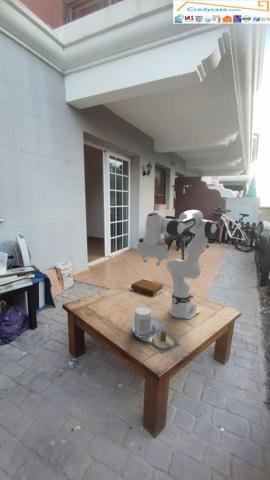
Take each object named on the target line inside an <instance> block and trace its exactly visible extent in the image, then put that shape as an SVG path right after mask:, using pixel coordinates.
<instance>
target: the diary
mask: <svg viewBox="0 0 270 480" xmlns="http://www.w3.org/2000/svg"><path fill="white" fill-rule="evenodd" d="M131 288H132V289H135V290H137V291H140V292H143V293H142V294H144V293H145V294H144V295H147V294H148V296H150V295H151V297H155V296H154V294H156V293H157V292H158V291H160V290H161V289H163V288H164V284H162V283H158V282H155V281H151V280H147V279H143V278H142V279H140V280H137V281H136V282H133V283H132V284H131V285H130V289H131ZM163 290H164V289H163ZM137 291H136V292H137ZM140 292H139V293H140Z"/></svg>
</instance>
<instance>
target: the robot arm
mask: <svg viewBox="0 0 270 480" xmlns="http://www.w3.org/2000/svg"><path fill="white" fill-rule="evenodd" d="M216 230H217V224H216V222H215V221H213V220H211V219H209V220H207V219H204V214H203V212H202V211H200V210H198V209H189V210H186V211H183V212H181V213H180V214H179V216H178V218H176V219H173V218H166V217H164V216H162V213H160V212H150V213H148V214H147V216H146V221H145V236H144V237H141V238H140V237H139V238H138V240H137V242H138V243H137V245H136V246H137V247H136V252H137V254H138V255H141V257H142V259H143V260H142V262H143V263H148V261H147V260H148V259H147V258H146V257H151V258H156V259H157V260H158V261H156V262H155V266H161V263H162V260H167V259H168V257H169V245H168V244H167V242H163V241H161V236H162V235H165V236H171V237H174V238H177V237H180V236H181V235H182V234H183V233H184V232H186V231H187V232H188V233H190V234H194V237H193V238H192V239H191V241H190V242H189V243H188V245H187V246H186V248H185V249H184V255H185V257H186V259H181V258H174V257H172V258H170V259H168V261H167V263H166V269H167V270H168V272H169V274H170V275H171V276H170V277H171V278H172V279H171V280H172V283H173V287H172V295H171V302H170V303H171V304H170V307H169V314H170V316H172V317H174V318H177V319H185V320H190V319H192V318H194V317H195V316H197V315H198V314H200V313H199V312H200V310H199V309H198V308H197V304H196V302H194V301H193V300H192V299H193V298H194V295H193V294H190V283H189V281H187V279H191V280H196V279H198V278H199V277H200V275H201V273H202V271H201V267H200V265H199V259H200V257H201V256H202V254H203V252H204V251H205V249H206V246H207V244H208V240H209V239H210V238H211V237H212V236H213V235H215V233H216V232H217V231H216ZM197 313H198V314H197ZM196 314H197V315H196Z"/></svg>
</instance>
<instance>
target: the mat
mask: <svg viewBox="0 0 270 480" xmlns="http://www.w3.org/2000/svg"><path fill="white" fill-rule="evenodd" d="M147 343H148V344H149V345H151V346H152V347H153V348H154V349H155V350H157V351H158V353H160V354H164V353H167V352H168V351H171V350H173V349H175V348H178V347H180V346H181V343H179V342H178V341H177V340H175V339H174V345H173V347H171V348H169V349H160V348H157V347H156V346H154V345H153V343H152V342H150V341H147Z"/></svg>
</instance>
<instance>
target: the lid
mask: <svg viewBox="0 0 270 480" xmlns="http://www.w3.org/2000/svg"><path fill="white" fill-rule="evenodd" d="M152 337H153V338H152V343H153V345H154V346H156V347H157V348H160V349H169V348H171V347H173V345H174V340H175V338H173V336H171V335H168V334H167V331H166V330H161V331H160V333H156V334H154V335H152Z"/></svg>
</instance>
